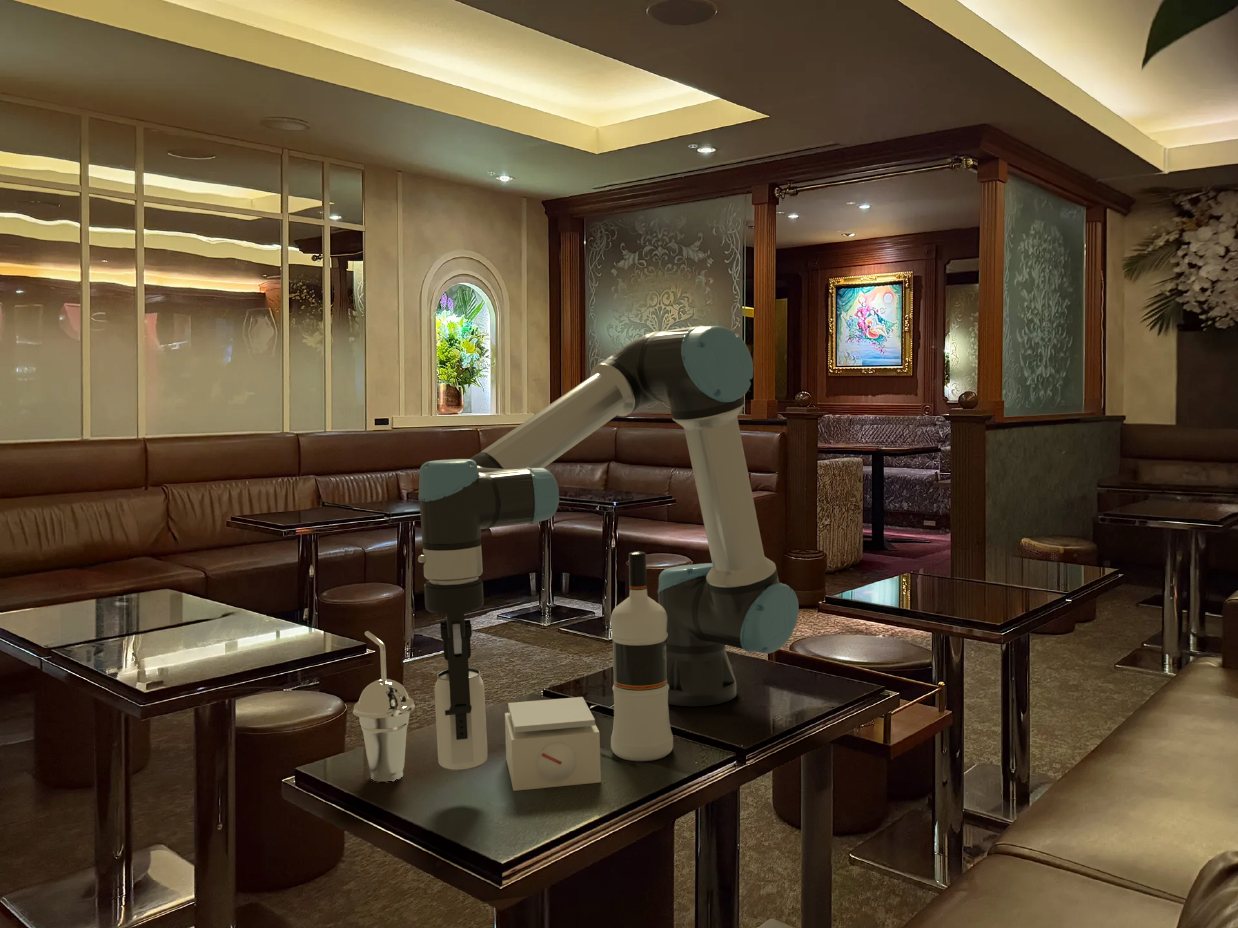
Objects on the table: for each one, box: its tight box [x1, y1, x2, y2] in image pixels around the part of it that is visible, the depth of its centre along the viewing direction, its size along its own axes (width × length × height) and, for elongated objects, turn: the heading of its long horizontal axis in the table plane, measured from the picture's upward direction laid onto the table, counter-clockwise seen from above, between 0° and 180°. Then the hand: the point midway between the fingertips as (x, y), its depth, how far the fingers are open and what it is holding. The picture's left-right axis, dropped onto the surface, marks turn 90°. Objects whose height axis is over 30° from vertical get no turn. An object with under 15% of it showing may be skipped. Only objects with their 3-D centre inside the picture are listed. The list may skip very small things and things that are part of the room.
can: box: [434, 667, 488, 772], centre depth 130 cm, size 6×6×12 cm
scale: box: [504, 696, 602, 792], centre depth 139 cm, size 12×13×9 cm
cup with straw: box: [352, 630, 416, 783], centre depth 139 cm, size 8×9×20 cm
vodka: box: [610, 550, 674, 763], centre depth 145 cm, size 9×9×30 cm
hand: (462, 753), depth 129 cm, fingers closed on can, 4 cm apart
